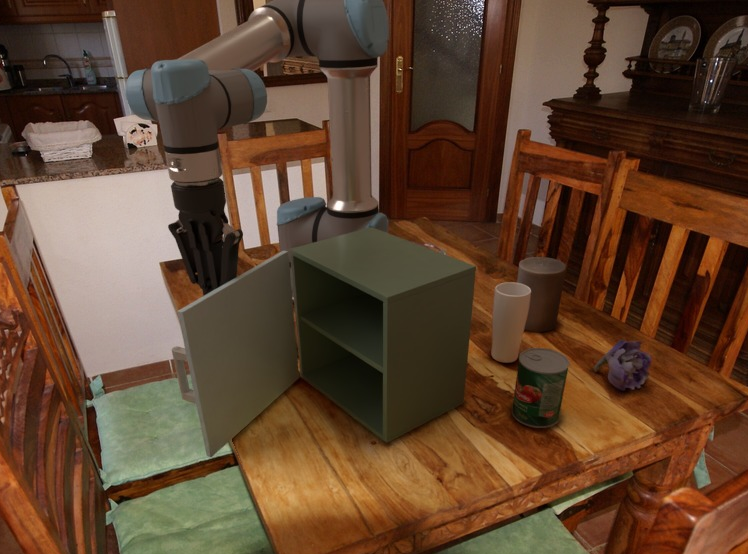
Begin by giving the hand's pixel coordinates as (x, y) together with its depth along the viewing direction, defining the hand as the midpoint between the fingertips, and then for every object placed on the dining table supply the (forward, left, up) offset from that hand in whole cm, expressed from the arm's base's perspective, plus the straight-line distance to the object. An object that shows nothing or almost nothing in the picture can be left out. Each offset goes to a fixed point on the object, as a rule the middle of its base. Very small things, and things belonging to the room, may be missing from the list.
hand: (220, 324), depth 95 cm
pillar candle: (+13, +68, -17) cm, 71 cm away
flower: (+38, +60, -17) cm, 73 cm away
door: (+3, +1, -16) cm, 17 cm away
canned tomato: (+35, +40, -17) cm, 56 cm away
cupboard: (+12, +24, -17) cm, 31 cm away
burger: (-12, +20, -17) cm, 28 cm away
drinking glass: (+19, +51, -17) cm, 57 cm away
